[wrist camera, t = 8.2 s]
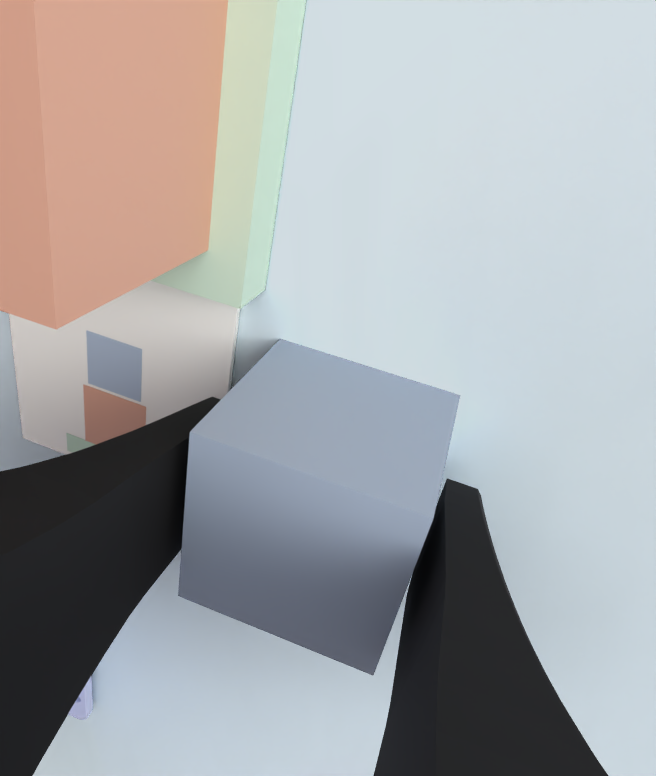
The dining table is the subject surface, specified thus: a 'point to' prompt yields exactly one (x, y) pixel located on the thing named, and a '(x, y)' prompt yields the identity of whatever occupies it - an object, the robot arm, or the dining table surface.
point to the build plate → (247, 152)
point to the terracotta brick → (104, 147)
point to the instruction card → (121, 365)
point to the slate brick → (314, 499)
